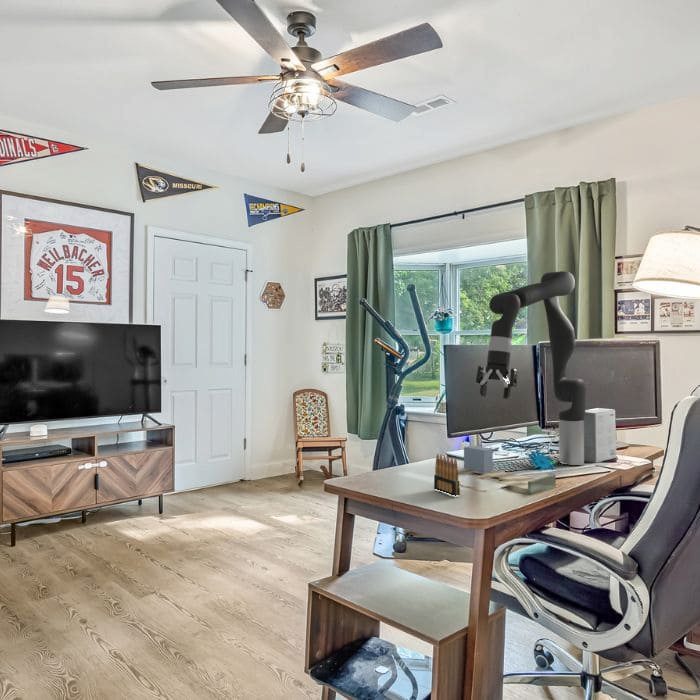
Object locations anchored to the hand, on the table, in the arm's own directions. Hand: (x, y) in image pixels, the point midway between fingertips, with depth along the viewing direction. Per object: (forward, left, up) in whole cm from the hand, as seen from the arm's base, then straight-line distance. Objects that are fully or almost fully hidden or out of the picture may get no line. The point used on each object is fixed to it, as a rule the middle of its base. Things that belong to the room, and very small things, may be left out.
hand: (494, 397), depth 192 cm
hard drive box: (-33, +51, -29) cm, 68 cm away
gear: (-12, +21, -29) cm, 38 cm away
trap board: (0, +3, -29) cm, 29 cm away
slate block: (-11, -3, -27) cm, 30 cm away
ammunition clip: (+15, -20, -29) cm, 38 cm away
